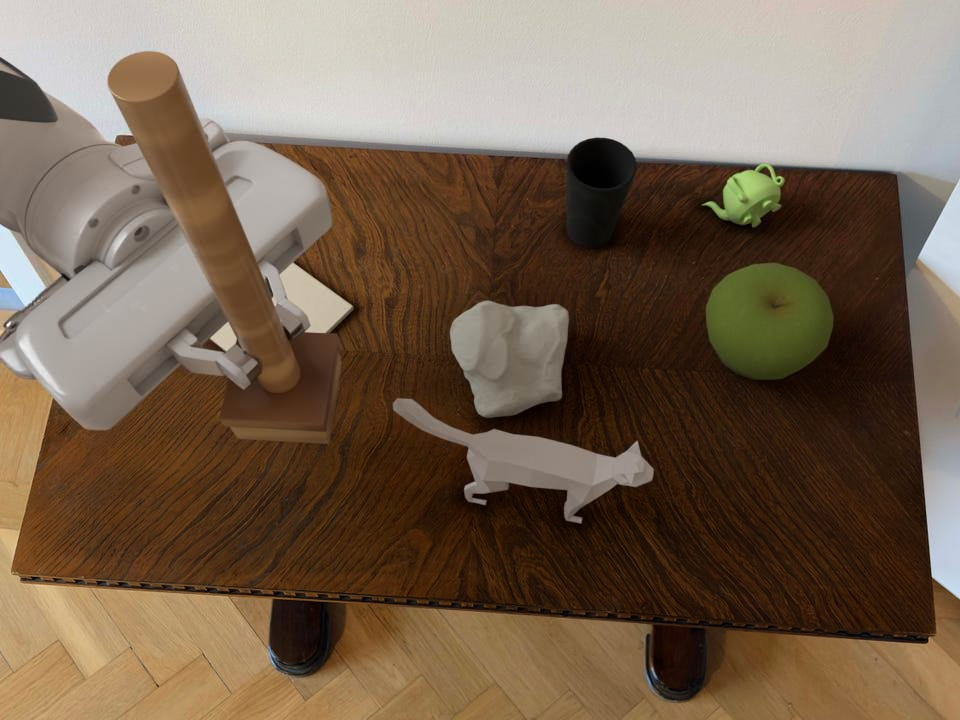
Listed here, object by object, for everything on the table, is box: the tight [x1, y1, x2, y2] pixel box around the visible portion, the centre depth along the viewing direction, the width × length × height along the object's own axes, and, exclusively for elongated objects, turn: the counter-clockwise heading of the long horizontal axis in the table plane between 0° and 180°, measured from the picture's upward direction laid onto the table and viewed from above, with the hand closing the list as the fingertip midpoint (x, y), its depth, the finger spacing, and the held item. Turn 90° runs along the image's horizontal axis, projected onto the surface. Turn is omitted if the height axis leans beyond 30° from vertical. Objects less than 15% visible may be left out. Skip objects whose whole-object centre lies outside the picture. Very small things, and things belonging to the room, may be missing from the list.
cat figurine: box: [392, 397, 655, 524], centre depth 67 cm, size 4×20×14 cm, turn 78°
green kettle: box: [701, 163, 786, 228], centre depth 84 cm, size 6×5×6 cm
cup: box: [566, 136, 638, 249], centre depth 82 cm, size 6×6×10 cm
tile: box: [209, 262, 354, 353], centre depth 81 cm, size 11×11×1 cm
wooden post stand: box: [107, 50, 343, 445], centre depth 44 cm, size 6×6×28 cm
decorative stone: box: [449, 300, 570, 419], centre depth 76 cm, size 11×9×10 cm
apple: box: [705, 262, 834, 381], centre depth 75 cm, size 11×10×10 cm
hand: (277, 352), depth 49 cm, fingers closed on wooden post stand, 2 cm apart
